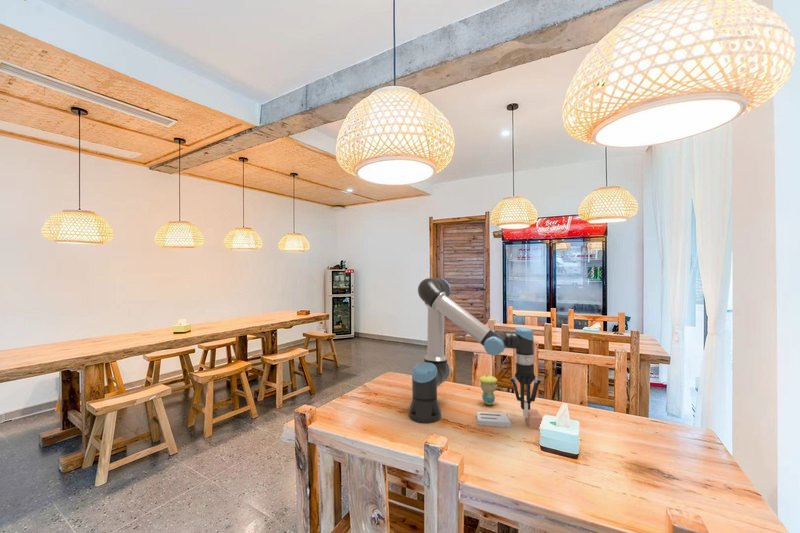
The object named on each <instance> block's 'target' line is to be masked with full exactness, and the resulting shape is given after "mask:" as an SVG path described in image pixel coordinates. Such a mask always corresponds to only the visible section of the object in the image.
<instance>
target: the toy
mask: <svg viewBox="0 0 800 533" xmlns="http://www.w3.org/2000/svg"><path fill="white" fill-rule="evenodd" d="M478 380H479V382H480V389H481V391H482V393H481V394H482V395H481V397H482V401H483V402H484V404H485V405H486V406H487V405H488V406H491V405H493V403H494V402H495V399H496V396H495V393H494V392H496V391H497V387H498V384H497V382H498V379H497V378H496V377H495V376H492V375H488V374H485V375H482V376H480V377H479V378H478Z"/></svg>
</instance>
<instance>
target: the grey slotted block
mask: <svg viewBox="0 0 800 533" xmlns="http://www.w3.org/2000/svg"><path fill="white" fill-rule="evenodd" d="M476 420H477V421H476V422H477V426H485V427H498V428H499V427H500V428H512V422H511V420H510V416H509V413H499V412H484V411H476Z"/></svg>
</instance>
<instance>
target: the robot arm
mask: <svg viewBox="0 0 800 533" xmlns="http://www.w3.org/2000/svg"><path fill="white" fill-rule="evenodd" d="M451 291H452V290H451V284H450V283H449V282H448V281H447V280H446V279H444V278H441V277H430V278H429V277H427V278H425V279H423V280H422V281H420V282H419V284H418V286H417V293H418V296H419V298H420V299H421V301H423V302H424V305H425V306H426V307H427V345H426V346H427V351H426V354H425V355H424V357H423V358H424V359H423V362H421V363H420V362H418V363H417V364H415V365H414V366H413V367H412V372H411V378H412V379H411V380H412V381H411V384H412V385H411V386H412V388H411V390H412V391H411V392H412V394H411V395H412V399H411V402H410V405H409V408H408V417H409V419H410V420H413V421H414V422H417V423H423V424H429V423H435V422H438V421H439V420H440V419H441V418H442V411H441V410H442V409H441V407H440V404H439V401H438V387H439V386H440V385H442V384H443V383H444V382H446V381H447V379H448V378H449V376H450V374H451V373H450V372H451V368H450V364H449V363H448V357H447V356H446V355H445V317H446V318H447V319H449V320H450V321H451V322H452V323H453V324H455V325H456V326H458V327H459V328H460V329H462V330H463V332H465V333H466V334H468V335H469V336H470V337H472V338H473V339H474V340H475V341H477V343H479V344H480V345H482V346H483V347H484V351H485V352H486V353H487V354H489V355H491V356H497V355H500V354H501V353H503V352H505V351H504V350H505V349H512V350H513V349H515V374H514V376H512V377H510V378H509V381H510V382H511V383H512V386H513V389H514V394H515V398H516V400H517V402H520V408H521V410H522V414H523V418H528V410H530V409H531V403H533V402H535V401H536V397H537V393H538V388H539V385H541V382H542V381H541V379H540V378H537V377H536V374H535V365H534V363H535V359H534V358H535V357H534V356H535V355H534V354H535V351H534V349H535V348H534V347H535V345H534V344H535V343H534V341H535V340H534V331H533V329H531V328H530V327H529V328H528V327H516V328H515V330H514V331H508V330H507V331H505V330H503V331H502V330H497V329H496V330H494V329H493V330H492V329H490V328H489V327H488V326H487V325H485V324H484V323H483V322H481V321H480V320H479V319H477V318H476V317H475V316H474V315H472V314H471V313H470V312H468V311H467V310H465V309H464V308H463V307H461V306H460V305H459V304H457V303H456V302H455V301H453V299H451V298H450V295H451ZM517 381H518V383H519V388H520V389H519V390H518V387H517V383H516V382H517ZM533 382H534V383H533ZM532 383H533V386H532V385H531V384H532ZM531 386H532V387H531ZM525 388H526V389H525ZM531 388H532V390H531ZM525 390H526V391H525ZM519 391H520V392H519ZM525 392H526V393H525ZM519 393H520V394H519ZM525 394H526V396H525ZM525 397H526V398H525ZM525 399H526V400H525Z"/></svg>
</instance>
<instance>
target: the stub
mask: <svg viewBox="0 0 800 533" xmlns="http://www.w3.org/2000/svg"><path fill="white" fill-rule="evenodd" d="M524 420H525V422H526V424H527V426H528V428H529V429H530V430H539V427H540V424H541V421H542V422H543V418H542V415H541V414H540V413H539V410H538V409H537V408H530V410H528V418H525V419H524Z"/></svg>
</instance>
